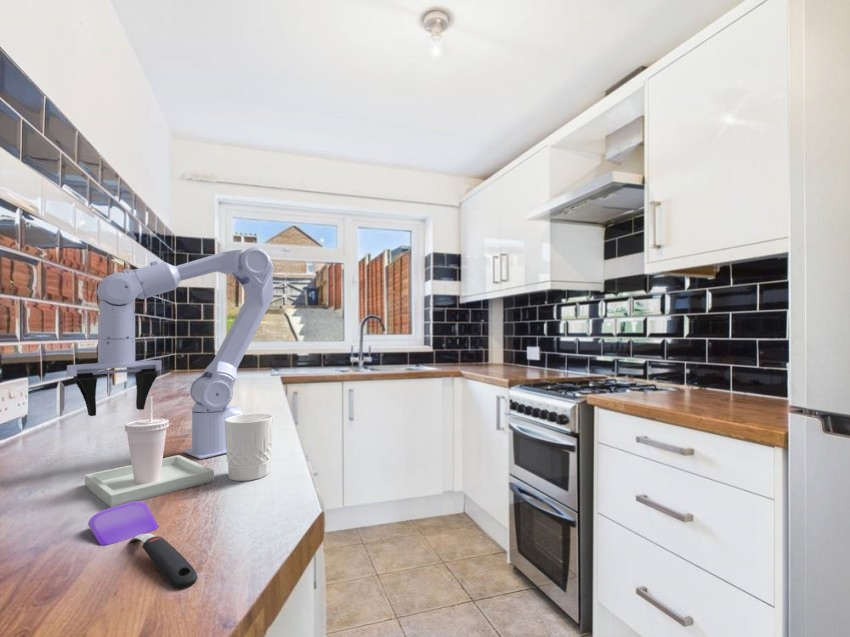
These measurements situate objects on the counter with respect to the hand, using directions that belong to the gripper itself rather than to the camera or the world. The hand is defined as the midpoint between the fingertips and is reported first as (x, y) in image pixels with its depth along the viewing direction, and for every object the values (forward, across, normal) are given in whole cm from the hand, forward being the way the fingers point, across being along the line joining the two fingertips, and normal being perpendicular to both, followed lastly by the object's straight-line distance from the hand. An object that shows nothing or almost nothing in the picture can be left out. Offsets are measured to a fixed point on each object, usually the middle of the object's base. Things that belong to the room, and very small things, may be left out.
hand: (117, 412), depth 83 cm
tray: (+10, -1, +14) cm, 17 cm away
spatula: (+11, +7, +39) cm, 41 cm away
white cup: (+11, -14, +23) cm, 29 cm away
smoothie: (+10, -1, +13) cm, 17 cm away
